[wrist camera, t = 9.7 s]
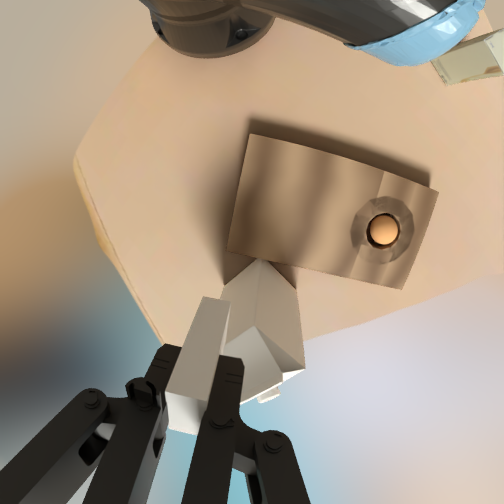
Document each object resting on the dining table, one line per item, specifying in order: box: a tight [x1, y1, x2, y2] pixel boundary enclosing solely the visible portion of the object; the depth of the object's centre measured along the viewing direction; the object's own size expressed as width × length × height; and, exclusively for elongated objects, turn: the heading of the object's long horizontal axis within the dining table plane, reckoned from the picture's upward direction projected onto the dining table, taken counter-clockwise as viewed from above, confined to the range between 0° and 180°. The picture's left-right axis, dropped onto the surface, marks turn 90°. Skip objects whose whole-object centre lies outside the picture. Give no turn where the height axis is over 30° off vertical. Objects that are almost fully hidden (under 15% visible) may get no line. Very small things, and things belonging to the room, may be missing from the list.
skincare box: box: [431, 28, 504, 86], centre depth 19 cm, size 6×4×12 cm
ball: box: [370, 215, 398, 244], centre depth 33 cm, size 4×4×4 cm
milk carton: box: [220, 258, 305, 405], centre depth 30 cm, size 7×7×19 cm
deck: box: [226, 134, 439, 290], centre depth 33 cm, size 24×14×2 cm, turn 78°
